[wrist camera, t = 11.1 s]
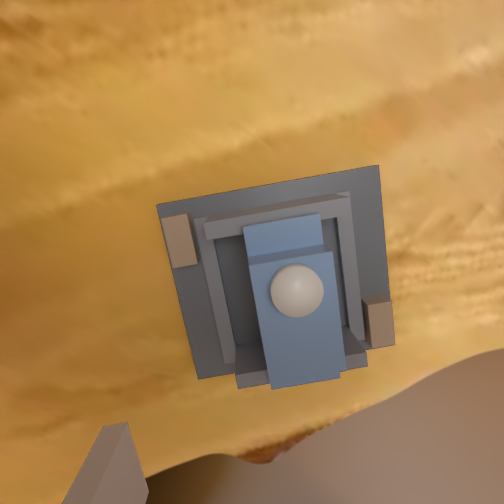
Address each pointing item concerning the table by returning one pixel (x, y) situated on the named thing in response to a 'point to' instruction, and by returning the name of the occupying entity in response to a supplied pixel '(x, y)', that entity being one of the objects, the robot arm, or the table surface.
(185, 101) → the table surface
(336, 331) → the block
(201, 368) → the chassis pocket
